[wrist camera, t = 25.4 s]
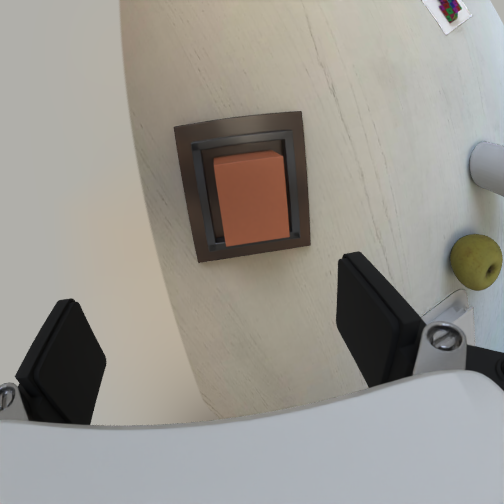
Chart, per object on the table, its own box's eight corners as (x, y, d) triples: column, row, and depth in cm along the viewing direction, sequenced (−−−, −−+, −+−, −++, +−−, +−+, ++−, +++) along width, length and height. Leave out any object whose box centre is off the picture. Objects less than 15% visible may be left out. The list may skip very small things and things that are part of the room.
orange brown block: (213, 157, 28) (213, 165, 23) (271, 149, 28) (283, 156, 24) (223, 226, 31) (226, 247, 26) (278, 218, 31) (289, 237, 27)
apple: (468, 272, 39) (496, 295, 33) (434, 273, 38) (464, 299, 32) (482, 227, 36) (514, 246, 30) (449, 223, 35) (484, 244, 29)
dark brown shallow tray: (174, 126, 27) (171, 127, 25) (298, 111, 28) (306, 111, 25) (198, 258, 33) (197, 269, 31) (308, 241, 34) (314, 251, 31)
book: (465, 282, 40) (480, 295, 37) (471, 355, 50) (481, 367, 46) (391, 338, 42) (402, 354, 39) (414, 397, 52) (422, 411, 48)
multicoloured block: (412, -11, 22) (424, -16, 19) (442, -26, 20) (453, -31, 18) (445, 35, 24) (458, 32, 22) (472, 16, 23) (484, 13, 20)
